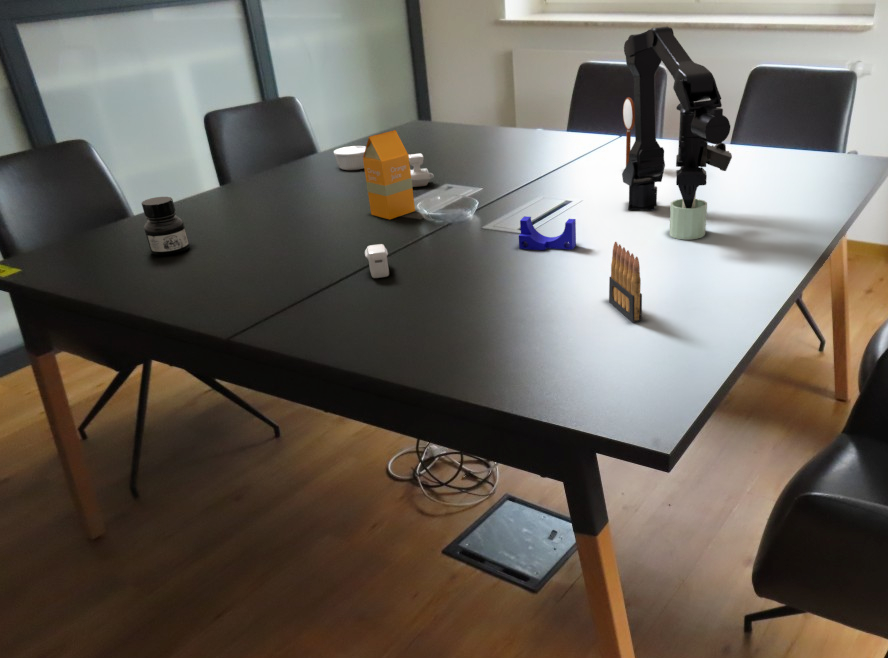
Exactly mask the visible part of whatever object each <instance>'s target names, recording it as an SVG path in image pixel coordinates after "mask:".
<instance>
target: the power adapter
mask: <svg viewBox="0 0 888 658" xmlns="http://www.w3.org/2000/svg"><path fill="white" fill-rule="evenodd" d="M388 255H389V252H388V249H387V248H386V247H385V245H384V244H383V243H378V244H371V245H368V246H367V247H366V248H365V250H364V256H365V258H366V259H367V260H368V266H369V271H370V276H371V277H372V278H373V279H379V278H387V277H389V276H390V269H389V267H390V266H389V260H388Z"/></svg>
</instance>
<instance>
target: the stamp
mask: <svg viewBox="0 0 888 658" xmlns="http://www.w3.org/2000/svg"><path fill="white" fill-rule="evenodd" d="M408 155H409V163H410V166H412V167H413V169H410V172H411V178H412V186H413V188H418V187H426V186H428V184H429V182H430V180H432V179H434V177H435V175H434V173H432V172H430V171H429V170H428V168H427V167H425V168H421V166H422V165H424V155H423V154H422V153H411V154H408Z"/></svg>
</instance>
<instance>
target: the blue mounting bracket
mask: <svg viewBox="0 0 888 658" xmlns="http://www.w3.org/2000/svg"><path fill="white" fill-rule="evenodd" d="M576 221H577V220H576V218H568V219H567V220H566V221H565V222H564V229H563V231H562V233H561V234H559V235H557V236H546V235H544V234H542V233H540V232H539V231H538V230H537V229H536V228H535V227H534V225H533V222H532V217H531V216H523V217H522V218H521V219H520V221H519V225H520V227H519V228H520V233H519V234H518V248H519V249H520V250H534V251H546V250H547V249H555V250H574V249H575V247H576V246H577V226H576V225H577V222H576Z"/></svg>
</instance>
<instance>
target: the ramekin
mask: <svg viewBox="0 0 888 658" xmlns="http://www.w3.org/2000/svg"><path fill="white" fill-rule="evenodd" d="M365 149H366V146H365V145H352V146H350V145H349V146H344V147H340V148H336V149H335V150H333V155H334V157H335V160H336V163H337V166H338V167H339V169H340V170H343V171H344V170H345V171H358V170H363V169H364V163H363V156H364V152H365Z"/></svg>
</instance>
